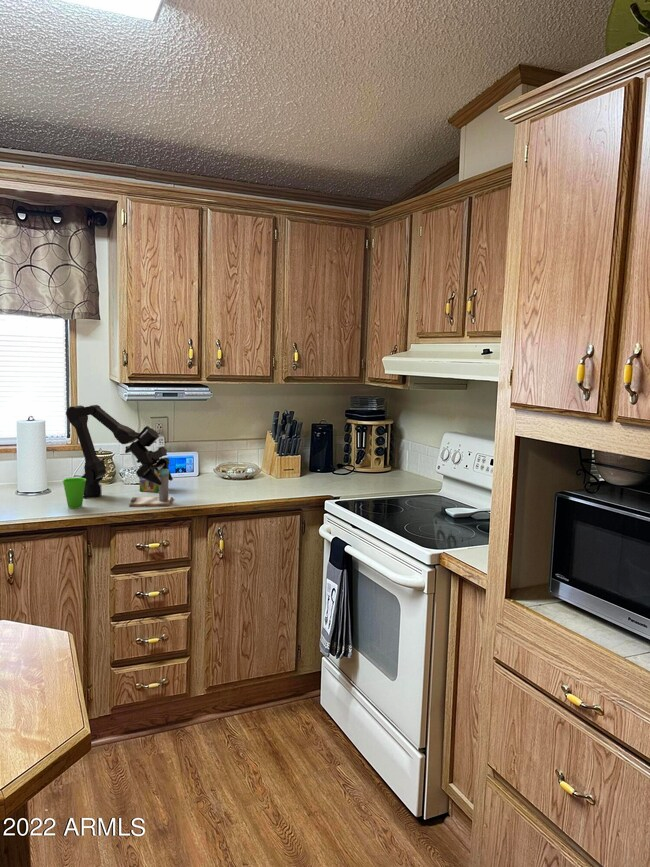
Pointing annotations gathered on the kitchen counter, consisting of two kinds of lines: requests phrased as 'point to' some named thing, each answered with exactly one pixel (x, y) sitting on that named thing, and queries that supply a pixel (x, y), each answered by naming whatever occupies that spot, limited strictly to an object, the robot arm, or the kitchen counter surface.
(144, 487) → the chalk box
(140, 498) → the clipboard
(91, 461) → the robot arm
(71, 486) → the cup
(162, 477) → the marker
